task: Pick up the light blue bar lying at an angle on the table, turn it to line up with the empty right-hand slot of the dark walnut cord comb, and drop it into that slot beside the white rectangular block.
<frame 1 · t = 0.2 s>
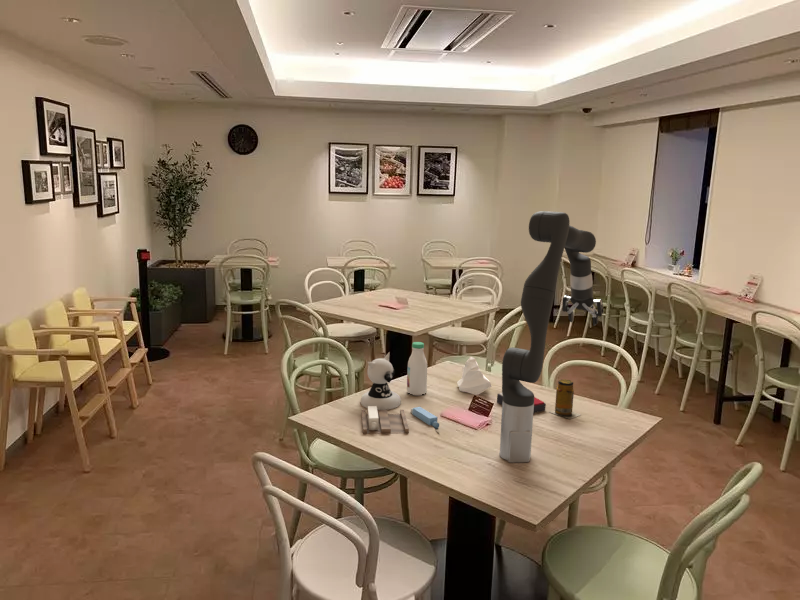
hand: (583, 322, 227), 31 cm above the table, tool tilted 20°, fingers open, 8 cm apart
condiment: (565, 414, 223), on the table
decorative figurine: (380, 407, 225), on the table
cord comb: (384, 427, 206), on the table
milk bottle: (416, 393, 241), on the table
white rectangular block: (372, 423, 206), point 1 cm above the table, touching cord comb
soft serve ice cream: (473, 390, 247), on the table
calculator: (520, 407, 229), on the table
light blue bar: (424, 423, 211), on the table
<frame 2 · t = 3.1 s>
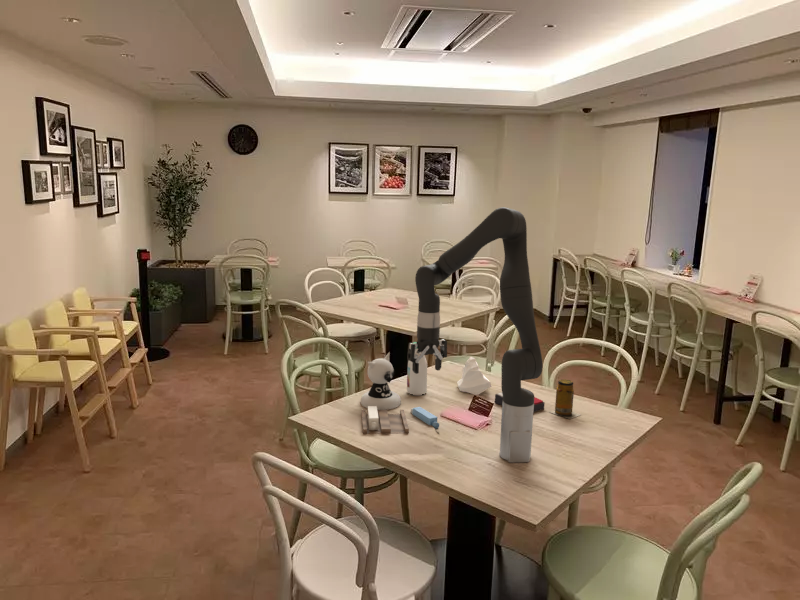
hand: (426, 371, 208), 18 cm above the table, tool pointing down, fingers open, 8 cm apart
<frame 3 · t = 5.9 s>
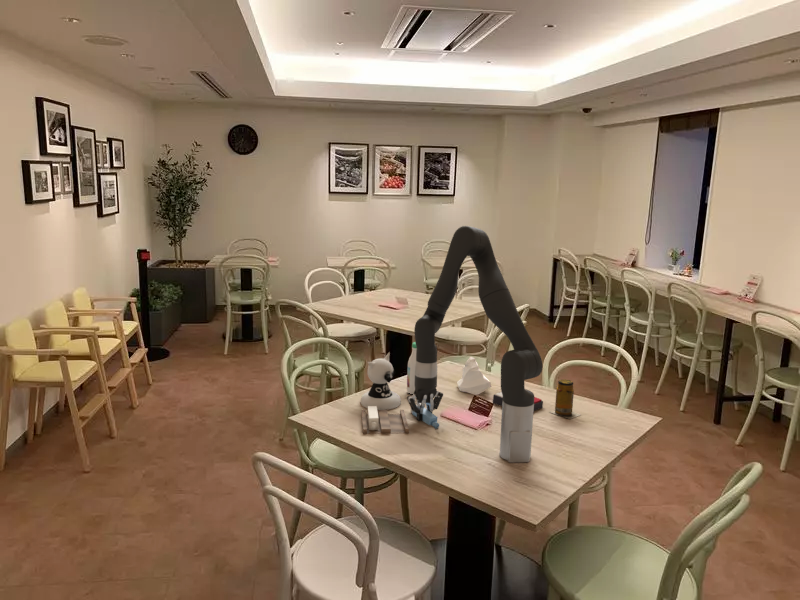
hand: (424, 422, 211), 0 cm above the table, tool pointing down, fingers closed on light blue bar, 2 cm apart
light blue bar: (424, 422, 211), on the table, touching gripper
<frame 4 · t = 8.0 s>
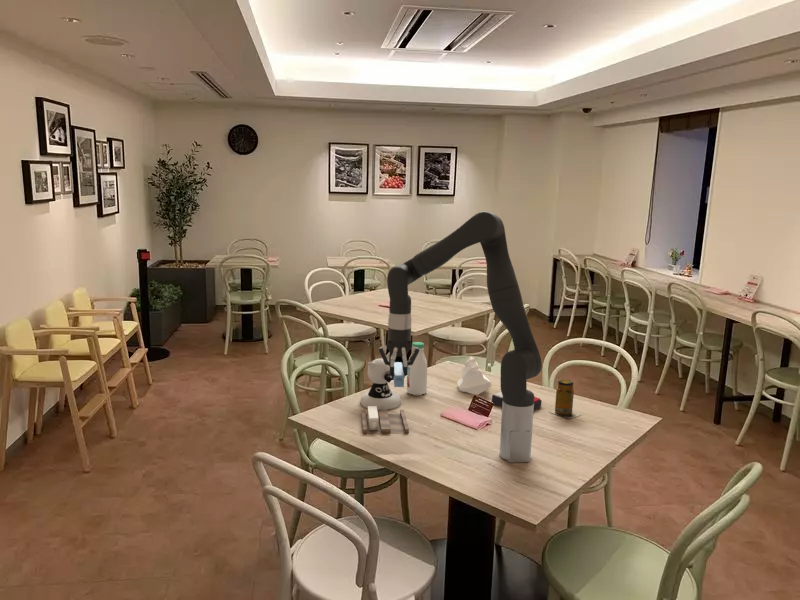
hand: (398, 376, 204), 17 cm above the table, tool pointing down, fingers closed on light blue bar, 3 cm apart
light blue bar: (398, 379, 205), point 16 cm above the table, tilted 6°, touching gripper
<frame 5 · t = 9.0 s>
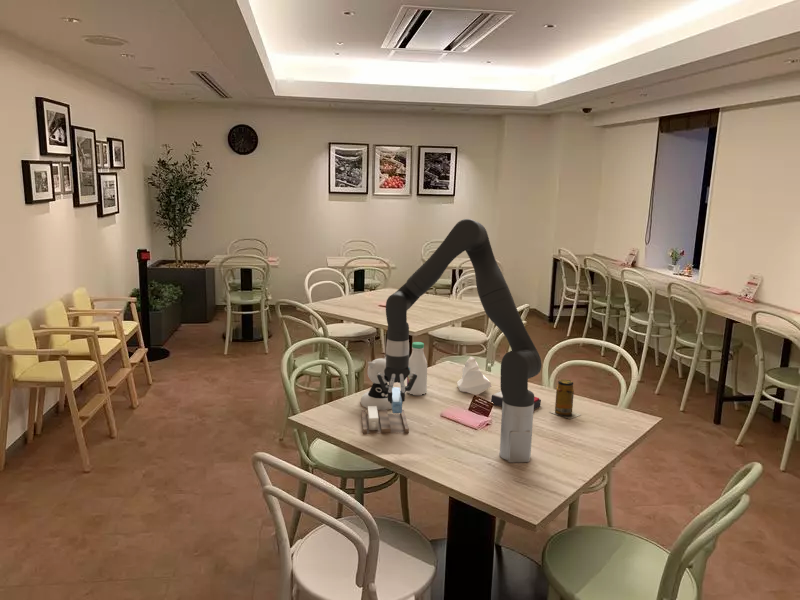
hand: (396, 402, 205), 9 cm above the table, tool pointing down, fingers closed on light blue bar, 3 cm apart
light blue bar: (395, 405, 206), point 8 cm above the table, tilted 6°, touching gripper
when the fingers open (4 cm above the table, at t = 10.2 s): light blue bar drops 1 cm, resting on cord comb.
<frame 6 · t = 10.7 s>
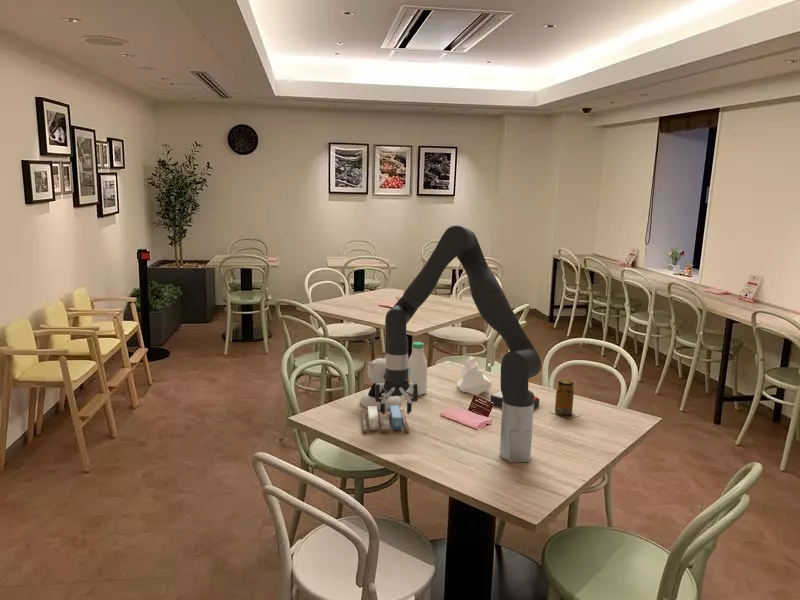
hand: (395, 413, 206), 5 cm above the table, tool pointing down, fingers open, 8 cm apart
light blue bar: (395, 422, 207), point 1 cm above the table, touching cord comb
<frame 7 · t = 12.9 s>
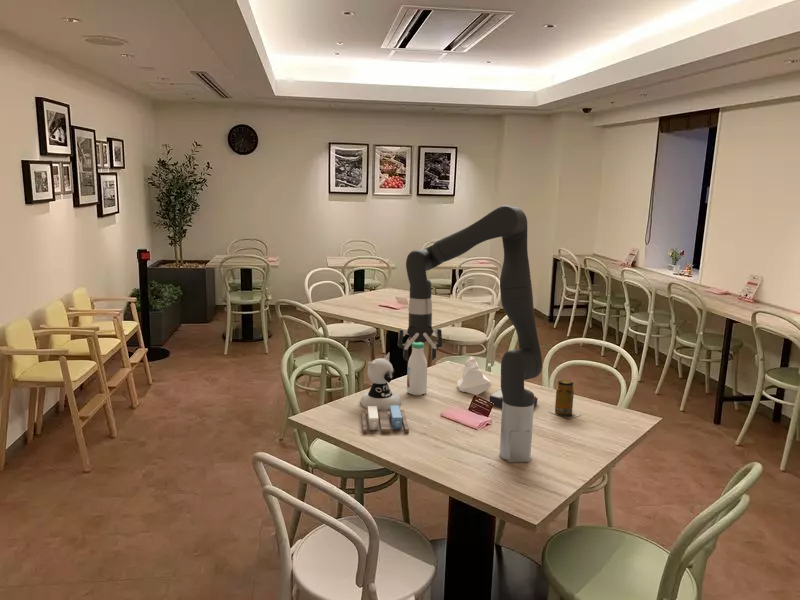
hand: (419, 359, 203), 23 cm above the table, tool pointing down, fingers open, 8 cm apart
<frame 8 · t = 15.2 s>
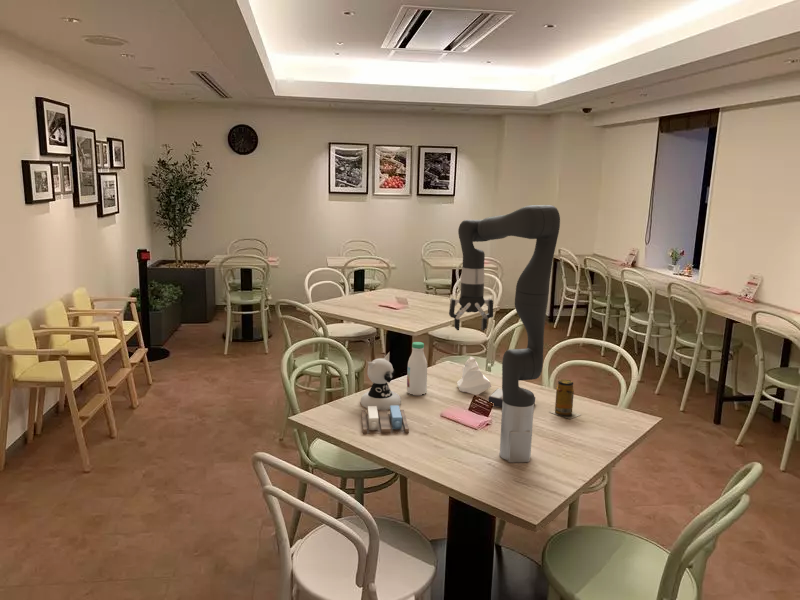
hand: (470, 329, 204), 33 cm above the table, tool pointing down, fingers open, 8 cm apart
at the end: light blue bar 0.4 cm from the target spot on the cord comb, point 1.5 cm above the cord comb's base; light blue bar tilted 0°; white rectangular block moved 0.0 cm from its start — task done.
